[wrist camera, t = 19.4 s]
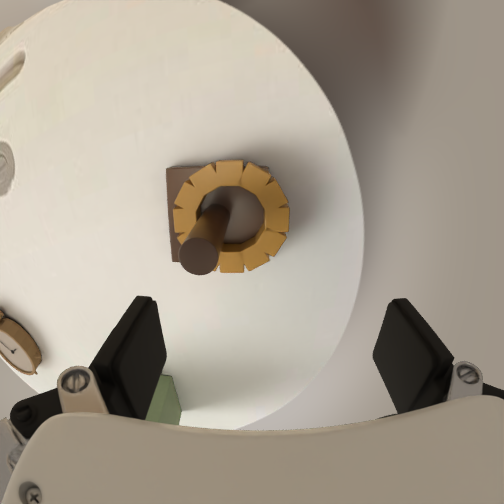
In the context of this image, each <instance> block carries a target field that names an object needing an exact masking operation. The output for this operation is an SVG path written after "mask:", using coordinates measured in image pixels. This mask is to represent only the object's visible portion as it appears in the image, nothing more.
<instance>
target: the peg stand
mask: <svg viewBox="0 0 504 504" xmlns="http://www.w3.org/2000/svg"><path fill="white" fill-rule="evenodd" d="M203 167H205V166H188V167H170V168H167V169H166V183H167V203H168V218H169V232H170V243H171V254H172V262H180V263H181V265H182V266H183V268H184V269H185V270H186V271H188V272H189V273H192V274H195V275H205V274H208V273H210V272H211V271H213V270H214V269H215V267H216V266H217V263H218V260H219V256H220V252H221V249H222V245H223V243H224V244H242V243H244V242H245V241H247V240H249V239H251V238H253V237H255V236H256V234H257V232H258V231H259V229H260V228H261V226H262V224H263V223H264V208H263V207H262V205H261V203H260V202H259V200H258V198H257V196H256V195H255V194H253V193H251V192H249V191H248V190H246V189H244V188H242V187H240V186H220V187H218V188H216V189H215V190H213V191H211V192H210V193H208V194H207V195H206V197H205V199H204V200H203V202H202V204H201V206H200V211H201V217H200V218H199V219H198V221H197V222H196V224H195V225H194V227H193V228H192V230H191V231H190V233H189V234H188V236H187V237H186V239H185V241H184V242H183V244H182V245H181V243H180V242H179V240H178V239H177V237H178V235H179V234H180V233H176V232H175V228H174V216H173V209H174V208H175V207H176V206H177V205H176V204H174V202H175V200H176V198H177V196H178V194H179V192H180V190H181V188H182V186H183V184H184V182H185V181H187V180H189V176H191V175H192V174H194V173H196V172H197V171H199V170H200V169H202V168H203ZM245 167H246V166H244V168H245ZM258 167H260V168H262V169H264V170H265V171H267V172H268V167H267V166H258Z"/></svg>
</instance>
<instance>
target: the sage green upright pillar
mask: <svg viewBox="0 0 504 504" xmlns="http://www.w3.org/2000/svg"><path fill="white" fill-rule="evenodd" d="M181 412H182V411H181V407H180V404H179V401H178V397H177V394H176V390H175V387H174V383H173V380H172V376H165V375H160V378H159V381H158V384H157V387H156V389H155V392H154V395H153V398H152V401H151V404H150V407H149V410H148V413H147V416H146V419H145V420H146V421H152V422H158V423H164V424H172V425H179V421H180V417H181Z"/></svg>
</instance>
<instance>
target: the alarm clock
mask: <svg viewBox="0 0 504 504" xmlns="http://www.w3.org/2000/svg"><path fill="white" fill-rule="evenodd" d="M3 315H4V314H3V313H2V312H1V311H0V354H1V356H2V357H3V358H4V359H5V360H6V361H7V362H8V363H9V364H10V365H11V366H12V367H14V368H15V369H16V370H18V371H20V372H21V373H23V374H27V375H33V374H34V373H35V374H36V375H37V372H36V368H37V367H38V365H39V364H40V362H41V353H40V351H39V348H38V347H37V345H36V343H35V342H34V340H33V339H32V338H31V337H30V335H29V334H28V333H27V332H26V331H25V330H24V329H23V328H22V327H21V326H19V325H18V324H17V323H15V322H14V321H12V320H10V319H8V318H2V317H3Z"/></svg>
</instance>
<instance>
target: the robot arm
mask: <svg viewBox="0 0 504 504" xmlns="http://www.w3.org/2000/svg"><path fill="white" fill-rule="evenodd" d="M166 357H167V353H166V348H165V343H164V338H163V334H162V329H161V324H160V318H159V313H158V307H157V303H156V301H153V300H152V298H151V297H148V296H137V297H136V298H135V299H134V300H133V302H132V303H131V305H130V306H129V308H128V309H127V310H126V312H125V313H124V315H123V316H122V318H121V319H120V321H119V322H118V324H117V325H116V327H115V328H114V329H113V330H112V332H111V333H110V335H109V336H108V338H107V339H106V341H105V342H104V344H103V345H102V347H101V349H100V350H99V352H98V353H97V355H96V356H95V358H94V360H93V361H92V363H91V364H90V366H89V368H87V367H84V366H74V367H70V368H68V369H66V370H65V371H63V372H62V373H61V374H60V376H59V377H58V380H57V388H55V389H53V390H50V391H47V392H44V393H41V394H39V395H36V396H33V397H30V398H27V399H24V400H21V401H19V402H17V403H16V404H15V405H14V407H13V408H12V410H11V413H10V419H9V420H8V419H7V418H6V417H5V418H4V419H2V420H1V421H0V504H504V390H501V389H498V388H496V387H493V386H490V385H488V384H485V383H483V376H482V373H481V371H480V370H479V368H478V367H477V366H475V365H474V364H472V363H470V362H466V361H462V362H458V363H456V364H455V365H453V364H452V362H453V360H454V357H453V355H452V354H451V353H450V351H449V350H448V349H447V348H446V346H445V345H444V344H443V342H442V341H441V340H440V338H439V337H438V336H437V334H436V333H435V332H434V331H433V330H432V328H431V327H430V326H429V325H428V323H427V322H426V321H425V320H424V318H423V317H422V316H421V315H420V314H419V312H418V311H417V310H416V309H415V308H414V306H413V305H412V304H411V303H410V302H409V301H408V300H407V299H406V298H400V299H393V300H392V302H390V303H389V304H388V307H387V310H386V314H385V317H384V320H383V324H382V327H381V330H380V333H379V336H378V339H377V342H376V345H375V348H374V351H373V360H374V362H375V364H376V366H377V368H378V370H379V373H380V375H381V377H382V379H383V381H384V383H385V386H386V388H387V390H388V392H389V394H390V397H391V399H392V401H393V403H394V405H395V408H396V410H397V413H398V415H394V416H390V417H385V418H380V419H375V420H371V421H365V422H359V423H352V424H345V425H338V426H330V427H321V428H310V429H295V430H268V431H250V430H223V429H208V428H197V427H188V426H180V425H172V424H164V423H158V422H152V421H146V420H145V419H146V416H147V413H148V410H149V407H150V404H151V401H152V398H153V395H154V392H155V389H156V387H157V384H158V381H159V378H160V375H161V373H162V370H163V367H164V364H165V361H166Z"/></svg>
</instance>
